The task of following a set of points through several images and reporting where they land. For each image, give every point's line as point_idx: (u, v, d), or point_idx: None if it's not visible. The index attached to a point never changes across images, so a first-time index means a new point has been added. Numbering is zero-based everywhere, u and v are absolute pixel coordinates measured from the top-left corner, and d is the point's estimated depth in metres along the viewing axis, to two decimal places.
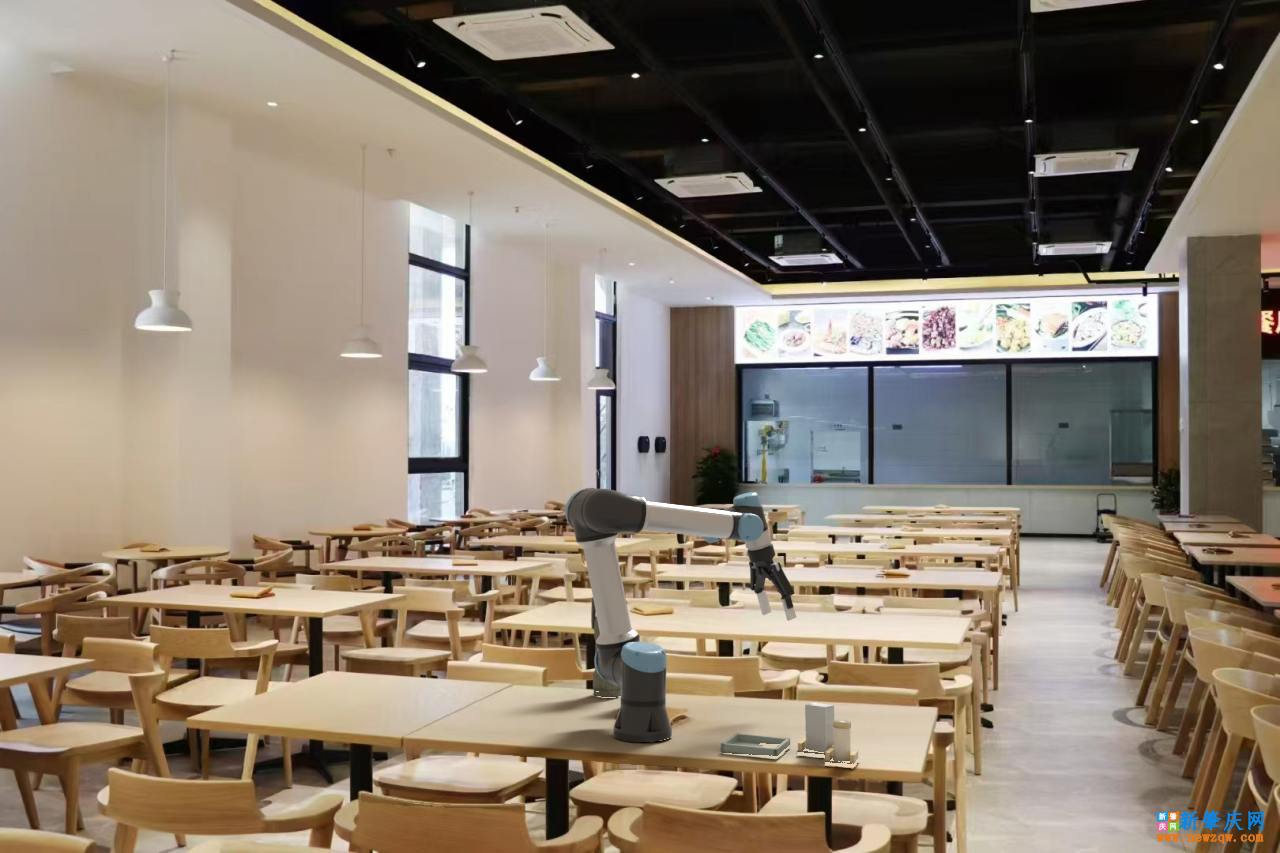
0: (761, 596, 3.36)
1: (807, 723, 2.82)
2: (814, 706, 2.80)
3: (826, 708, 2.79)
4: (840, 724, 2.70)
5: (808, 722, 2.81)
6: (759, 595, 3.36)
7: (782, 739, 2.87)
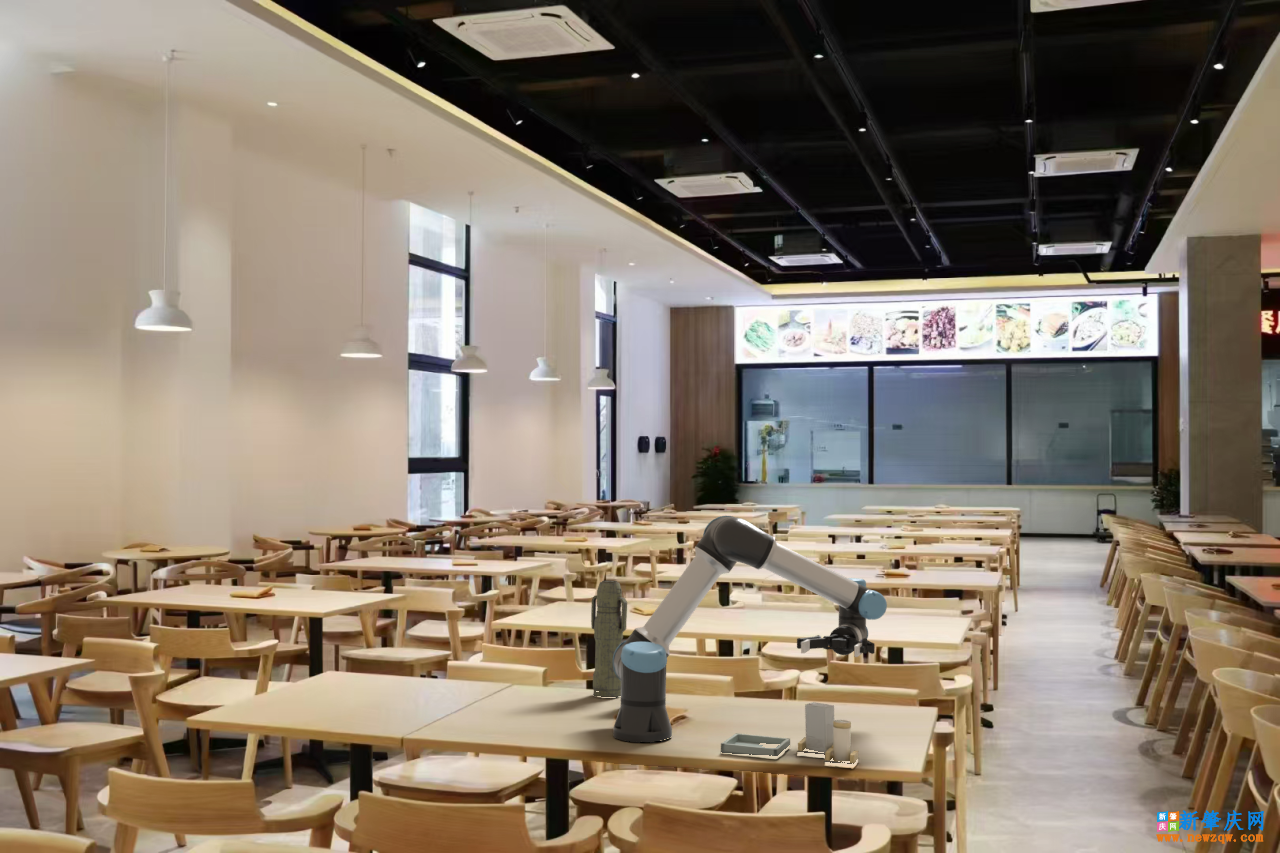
0: (808, 643, 2.99)
1: (807, 723, 2.82)
2: (814, 706, 2.80)
3: (826, 708, 2.79)
4: (840, 724, 2.70)
5: (808, 722, 2.81)
6: (809, 641, 2.99)
7: (782, 739, 2.87)
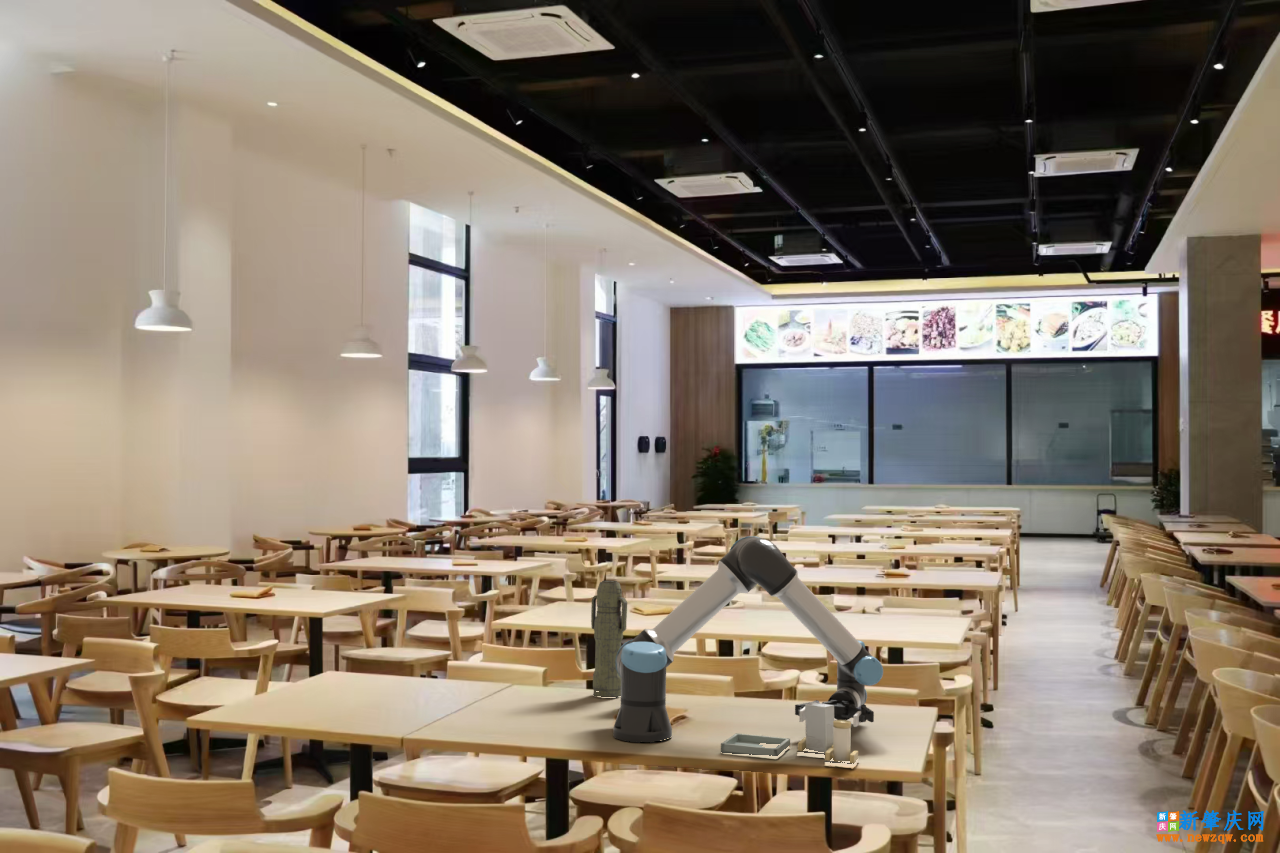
0: None
1: (807, 723, 2.82)
2: (814, 706, 2.80)
3: (826, 708, 2.79)
4: (840, 724, 2.70)
5: (808, 722, 2.81)
6: None
7: (782, 739, 2.87)
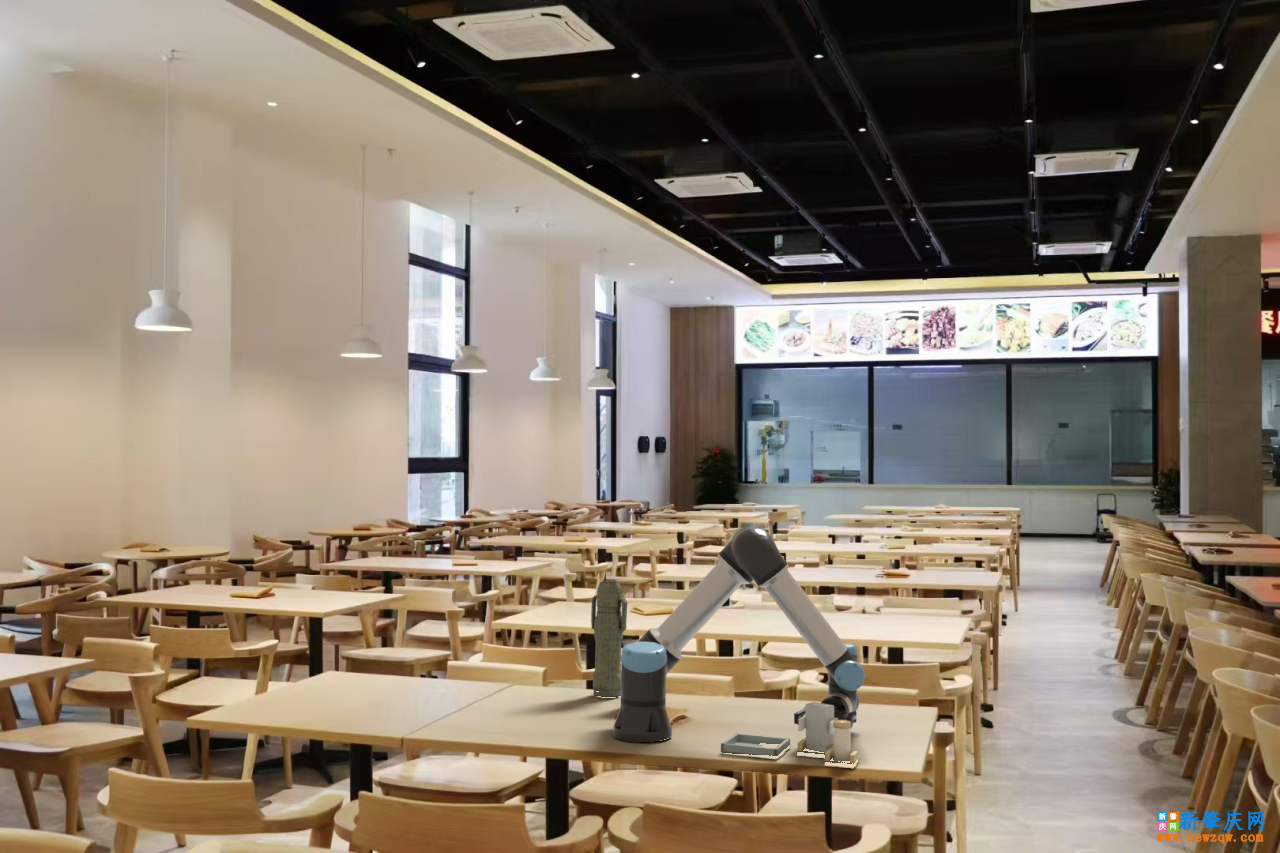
0: None
1: (807, 723, 2.82)
2: (814, 706, 2.80)
3: (826, 708, 2.79)
4: (840, 724, 2.70)
5: (808, 722, 2.81)
6: None
7: (782, 739, 2.87)
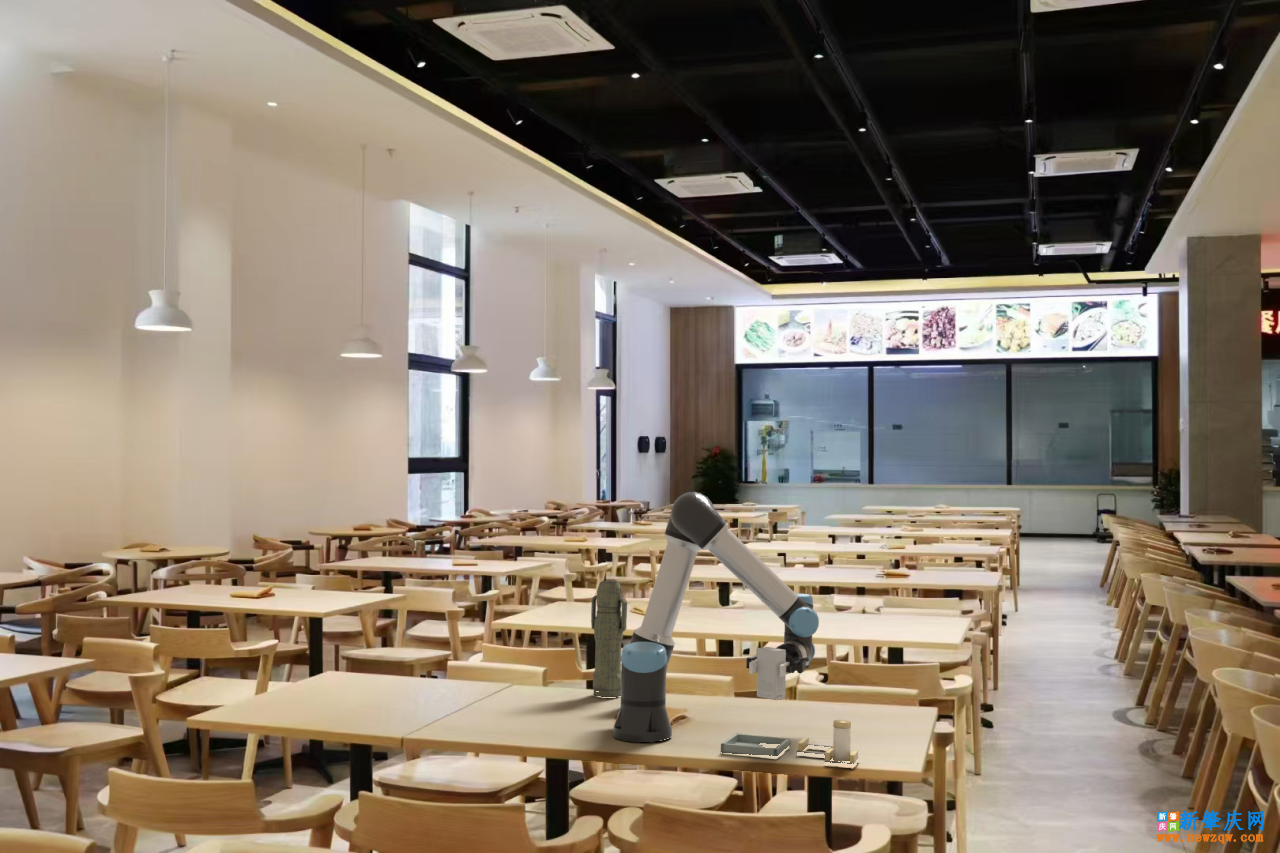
0: None
1: (758, 667, 2.84)
2: (766, 650, 2.82)
3: (777, 652, 2.81)
4: (840, 724, 2.70)
5: (759, 665, 2.83)
6: None
7: (782, 739, 2.87)
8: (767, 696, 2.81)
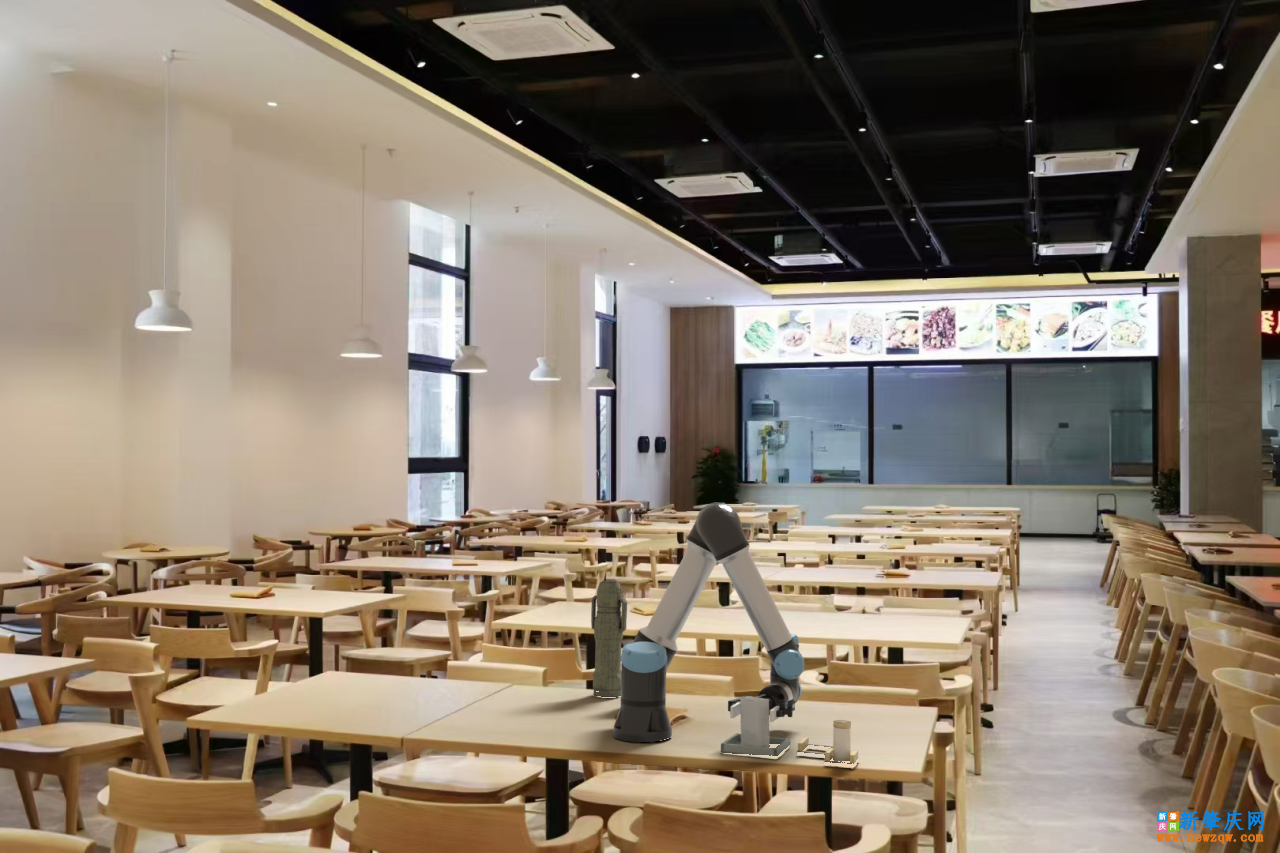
0: (739, 706, 2.86)
1: (742, 717, 2.83)
2: (749, 700, 2.82)
3: (760, 702, 2.81)
4: (840, 724, 2.70)
5: (743, 716, 2.83)
6: None
7: (782, 739, 2.87)
8: None
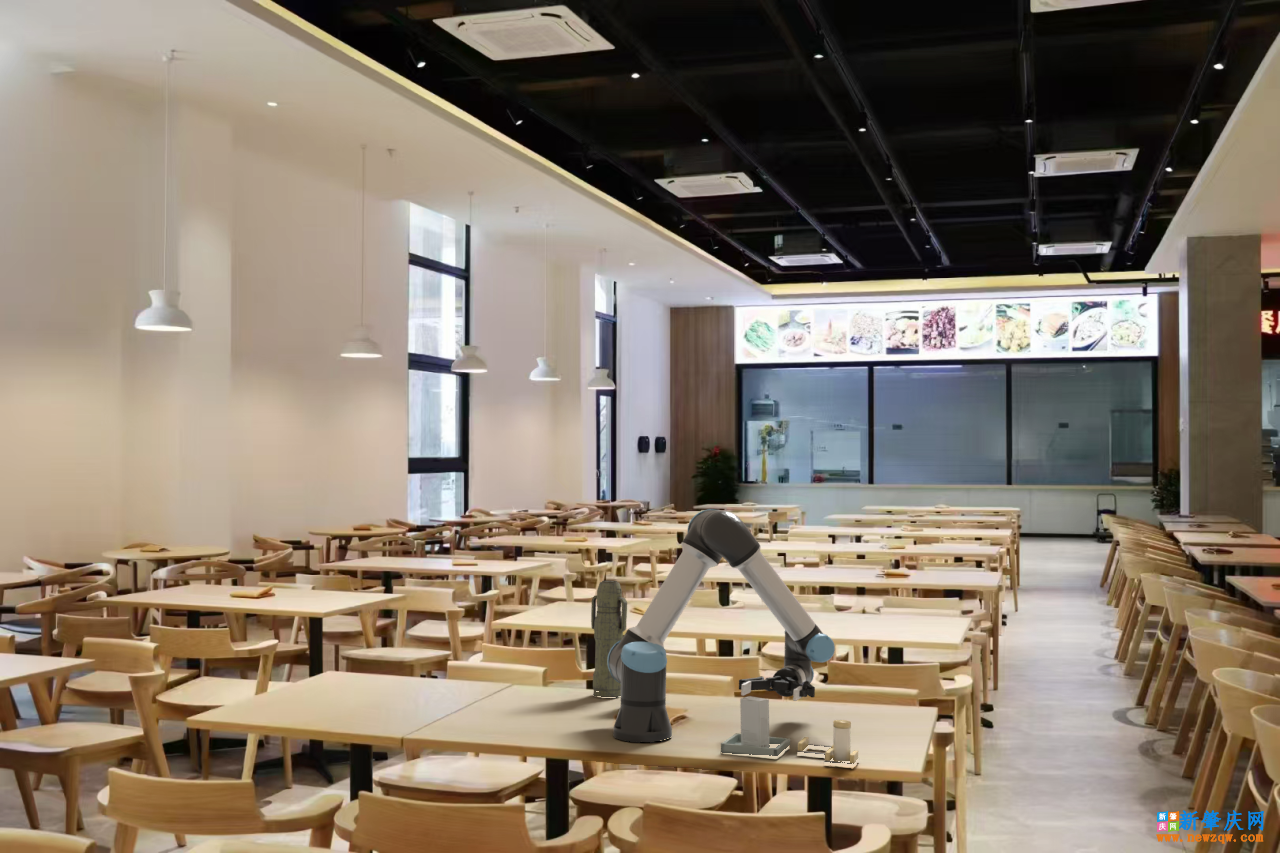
0: (750, 684, 3.00)
1: (742, 717, 2.83)
2: (749, 700, 2.82)
3: (760, 702, 2.81)
4: (840, 724, 2.70)
5: (743, 716, 2.83)
6: (750, 683, 3.01)
7: (782, 739, 2.87)
8: None
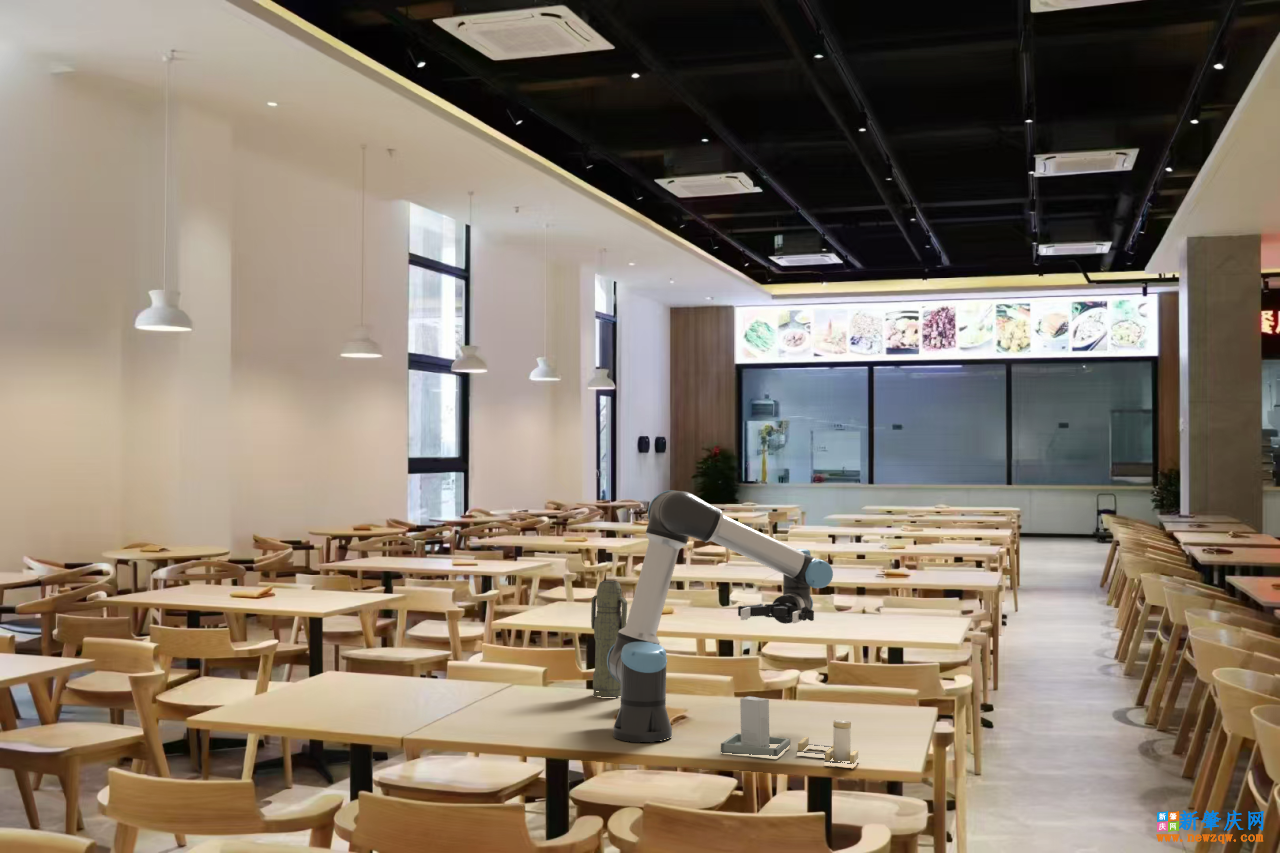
0: (749, 610, 3.01)
1: (742, 717, 2.83)
2: (749, 700, 2.82)
3: (760, 702, 2.81)
4: (840, 724, 2.70)
5: (743, 716, 2.83)
6: (749, 608, 3.02)
7: (782, 739, 2.87)
8: None
